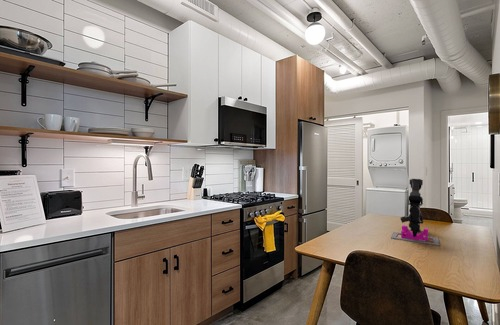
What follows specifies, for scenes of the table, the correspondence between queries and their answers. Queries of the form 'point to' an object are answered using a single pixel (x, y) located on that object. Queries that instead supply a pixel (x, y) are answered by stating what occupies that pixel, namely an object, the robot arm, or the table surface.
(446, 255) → the table surface
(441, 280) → the table surface
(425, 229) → the toy block
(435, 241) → the frame
